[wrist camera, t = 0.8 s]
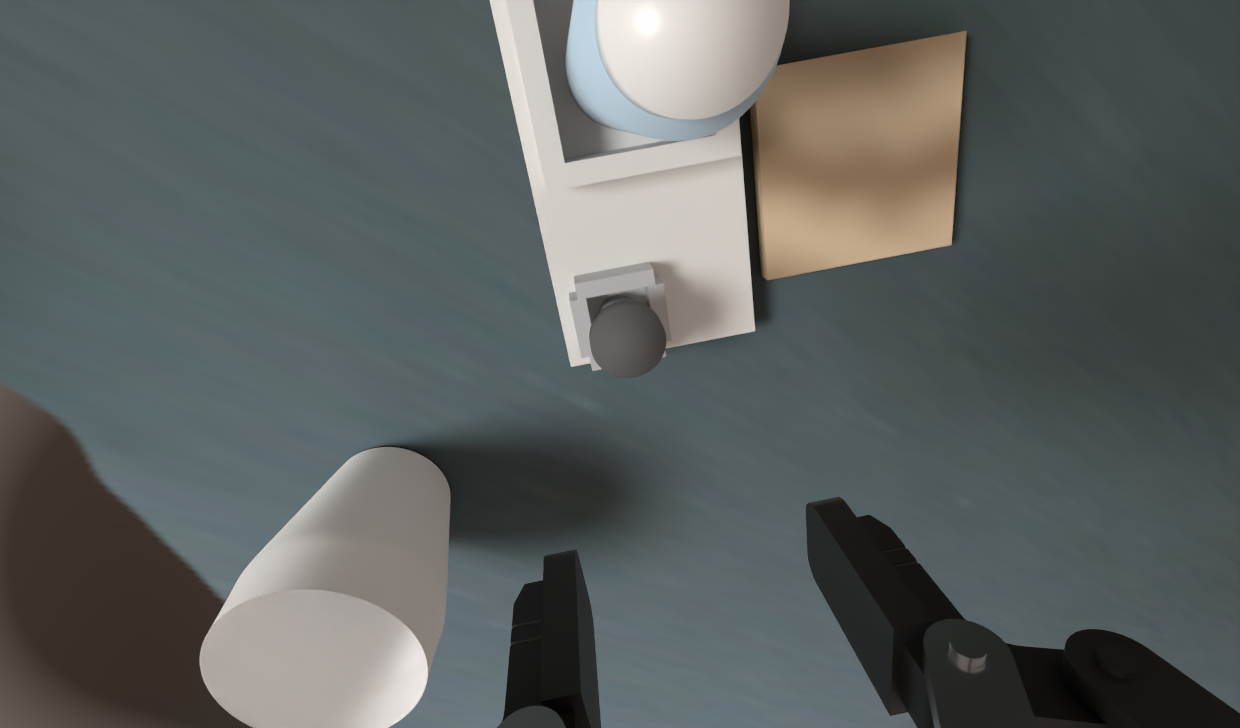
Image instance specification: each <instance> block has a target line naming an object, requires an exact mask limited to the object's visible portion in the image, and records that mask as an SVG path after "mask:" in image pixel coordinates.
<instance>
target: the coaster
mask: <svg viewBox="0 0 1240 728" xmlns="http://www.w3.org/2000/svg"><path fill="white" fill-rule="evenodd" d="M966 32H967V31H963V32H958V33H952V34H947V35H941V36H936V37H930V38H925V39H919V40H914V41H908V42H903V43H897V44H892V45H886V46H881V47H875V48H870V49H864V50H859V51H853V52H848V53H842V54H837V55H831V56H826V57H821V58H815V59H810V60H804V61H799V62H793V63H788V64H782V65H777V66H776V68H775V70H774V72H773V75H772V77H771V79H770V81H769V83H768V84H767V86H766V87H765V89H764V91H763V92H762V94H761V95H760V96H759V98H758V99H757V100H756V101H755V103H754V104H753V105H752V106H751V107H750V116H751V131H752V146H753V161H754V176H755V191H756V205H757V220H758V235H759V250H760V265H761V276H763V277H764V278H765V279H766V280H772V279H777V278H782V277H787V276H793V275H798V274H803V273H808V272H813V271H819V270H824V269H829V268H834V267H839V266H845V265H850V264H855V263H860V262H865V261H871V260H876V259H881V258H886V257H891V256H897V255H902V254H907V253H912V252H917V251H923V250H928V249H933V248H938V247H944V246H949V245H952V231H953V217H954V203H955V188H956V174H957V160H958V146H959V132H960V118H961V103H962V89H963V75H964V61H965V47H966Z"/></svg>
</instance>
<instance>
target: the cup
mask: <svg viewBox="0 0 1240 728" xmlns="http://www.w3.org/2000/svg"><path fill="white" fill-rule="evenodd" d="M450 498H451V495H450V488H449V485H448V482H447V480H446V478H445V476H444V475H443V473H442V472H441V470H440V469H439V468H438V467H437V466H436V465H435V464H434V463H433V462H431V461H430V460H429V459H427V458H425V457H424V456H422V455H420V454H418V453H416V452H413V451H410V450H407V449H402V448H396V447H379V448H373V449H369V450H366V451H363V452H360V453H358V454H356V455H355V456H353V457H352V458H350V459H349V460H348V461H347V462H346V463H345V464H344V465H343V466H342V467H341V468H340V469H339V470H338V471H337V472H336V473H335V474H334V475H333V476H332V477H331V478H330V479H329V480H328V481H327V482H326V483H325V484H324V486H323V487H322V488H321V489H320V490H319V491H318V492H317V493H316V494H315V495H314V496H313V497H312V498H311V499H310V500H309V501H308V502H307V503H306V504H305V505H304V506H303V508H302V509H301V510H300V511H299V512H298V513H297V514H296V515H295V516H294V517H293V518H292V519H291V520H290V521H289V522H288V523H287V524H286V525H285V526H284V527H283V528H282V529H281V531H280V532H279V533H278V534H277V535H276V536H275V537H274V538H273V539H272V540H271V541H270V542H269V543H268V544H267V545H266V546H265V547H264V548H263V549H262V551H261V552H260V553H259V554H258V555H257V556H256V557H255V558H254V559H253V560H252V561H251V563H250V564H249V565H248V566H247V567H246V569H245V570H244V571H243V572H242V574H241V575H240V577H239V579H238V580H237V582H236V584H235V586H234V588H233V590H232V591H231V593H230V595H229V597H228V599H227V601H226V602H225V604H224V606H223V608H222V609H221V611H220V613H219V615H218V616H217V618H216V620H215V621H214V623H213V625H212V626H211V628H210V630H209V632H208V633H207V635H206V637H205V639H204V642H203V644H202V647H201V651H200V669H201V674H202V677H203V680H204V682H205V684H206V686H207V688H208V690H209V692H210V693H211V695H212V696H213V697H214V699H215V700H216V701H217V702H218V703H219V704H220V705H221V706H222V707H223V708H224V709H225V710H226V711H227V712H229V713H230V714H231V715H233V716H234V717H235V718H237V719H239V720H240V721H242V722H243V723H245V724H247V725H249V726H251V727H253V728H388V727H390V726H392V725H393V724H395V723H396V722H398V721H399V720H401V719H402V718H403V717H405V716H406V715H407V714H408V713H409V712H410V711H411V710H412V709H413V708H414V707H415V705H416V704H417V703H418V701H419V700H420V698H421V696H422V694H423V692H424V690H425V687H426V683H427V680H428V676H429V672H430V669H431V665H432V661H433V658H434V655H435V651H436V648H437V646H438V643H439V640H440V637H441V634H442V631H443V627H444V620H445V613H446V593H447V570H448V546H449V523H450Z"/></svg>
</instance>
